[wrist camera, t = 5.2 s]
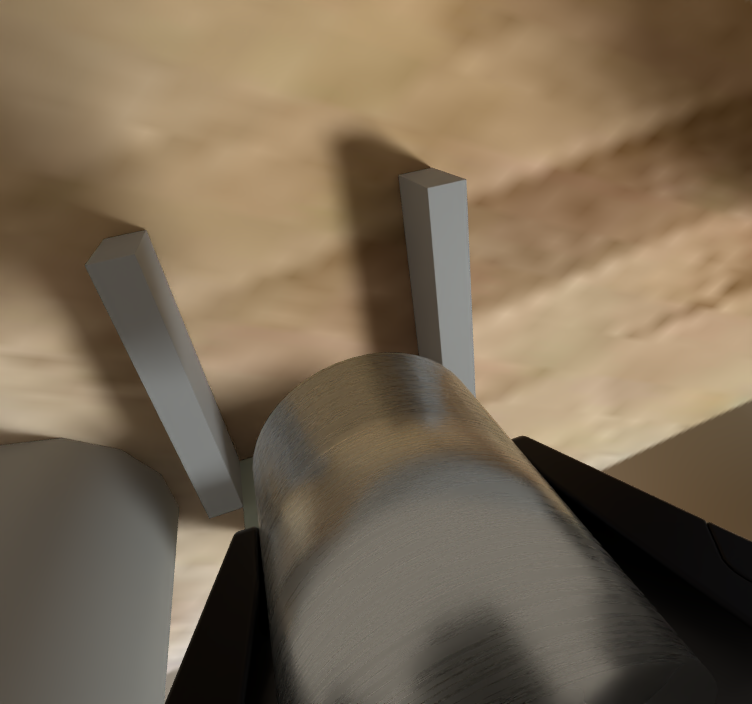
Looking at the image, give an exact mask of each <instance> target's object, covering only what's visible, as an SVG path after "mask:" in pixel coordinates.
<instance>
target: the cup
mask: <svg viewBox="0 0 752 704" xmlns="http://www.w3.org/2000/svg"><path fill="white" fill-rule="evenodd" d="M178 517H179V506H178V504H177V502H176V501H175V499H174V497H173V495H172V493H171V492H170V490H169V488H168V486H167V484H166V483H165V481H164V479H163V477H162V475H161V474H159V473H158V472H156V471H154V470H153V469H151V468H149V467H148V466H146V465H145V464H143V463H141V462H140V461H138V460H137V459H135V458H133V457H132V456H130V455H129V454H127V453H125V452H124V451H122V450H120V449H116V448H111V447H106V446H101V445H95V444H90V443H85V442H80V441H75V440H70V439H64V438H56V439H48V440H39V441H31V442H23V443H15V444H6V445H0V704H164V698H165V684H166V672H167V659H168V646H169V633H170V620H171V608H172V595H173V582H174V569H175V556H176V543H177V530H178Z"/></svg>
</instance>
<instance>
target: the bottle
mask: <svg viewBox="0 0 752 704" xmlns="http://www.w3.org/2000/svg"><path fill="white" fill-rule="evenodd" d="M253 477H254V487H255V496H256V506H257V515H258V525H259V535H260V544H261V554H262V564H263V573H264V583H265V592H266V602H267V612H268V621H269V631H270V641H271V650H272V660H273V669H274V679H275V689H276V698H277V704H715V702H716V697H717V685H716V681H715V680H714V678H713V676H712V675H711V673H710V672H709V671H708V670H707V669H706V667H705V666H704V665H703V664H702V663H701V662H700V660H699V659H698V658H697V657H696V656H695V655H694V653H693V652H692V651H691V650H690V649H689V647H688V646H687V645H686V644H685V643H684V642H683V640H682V639H681V638H680V637H679V636H678V635H677V633H676V632H675V631H674V630H673V629H672V628H671V626H670V625H669V624H668V623H667V622H666V621H665V619H664V618H663V617H662V616H661V615H660V613H659V612H658V611H657V610H656V609H655V608H654V606H653V605H652V604H651V603H650V602H649V601H648V599H647V598H646V597H645V596H644V595H643V594H642V592H641V591H640V590H639V589H638V588H637V587H636V585H635V584H634V583H633V582H632V581H631V579H630V578H629V577H628V576H627V575H626V574H625V572H624V571H623V570H622V569H621V568H620V567H619V565H618V564H617V563H616V562H615V561H614V560H613V558H612V557H611V556H610V555H609V554H608V553H607V551H606V550H605V549H604V548H603V547H602V546H601V544H600V543H599V542H598V541H597V540H596V538H595V537H594V536H593V535H592V534H591V533H590V531H589V530H588V529H587V528H586V527H585V526H584V524H583V523H582V522H581V521H580V520H579V519H578V517H577V516H576V515H575V514H574V513H573V512H572V510H571V509H570V508H569V507H568V506H567V504H566V503H565V502H564V501H563V500H562V499H561V497H560V496H559V495H558V494H557V493H556V492H555V490H554V489H553V488H552V487H551V486H550V485H549V483H548V482H547V481H546V480H545V479H544V478H543V476H542V475H541V474H540V473H539V472H538V470H537V469H536V468H535V467H534V466H533V465H532V463H531V462H530V461H529V460H528V459H527V458H526V456H525V455H524V454H523V453H522V452H521V451H520V449H519V448H518V447H517V446H516V445H515V444H514V442H513V441H512V440H511V439H510V438H509V436H508V435H507V434H506V433H505V432H504V431H503V429H502V428H501V427H500V426H499V425H498V424H497V422H496V421H495V420H494V419H493V418H492V417H491V415H490V414H489V413H488V412H487V411H486V410H485V408H484V407H483V406H482V405H481V404H480V403H479V401H478V400H477V399H476V398H475V397H474V395H473V394H472V393H471V392H470V391H469V390H468V388H467V387H466V386H465V385H464V384H463V383H462V381H461V380H460V379H459V378H458V377H457V376H456V375H455V374H454V373H452V372H451V371H450V370H448V369H447V368H445V367H444V366H442V365H441V364H439V363H437V362H435V361H432V360H430V359H428V358H424V357H421V356H417V355H413V354H406V353H386V352H385V353H375V354H367V355H363V356H358V357H354V358H350V359H347V360H344V361H342V362H339V363H336V364H334V365H331V366H329V367H327V368H325V369H323V370H321V371H319V372H317V373H316V374H314V375H313V376H311V377H309V378H308V379H306V380H305V381H303V382H302V383H301V384H300V385H298V386H297V387H296V388H294V389H293V390H292V391H291V392H290V393H289V394H288V395H287V396H286V397H285V398H284V399H283V400H282V401H281V402H280V403H279V404H278V405H277V407H276V408H275V409H274V411H273V412H272V413H271V414H270V416H269V418H268V419H267V421H266V423H265V424H264V426H263V428H262V430H261V432H260V435H259V437H258V440H257V442H256V447H255V451H254V455H253Z"/></svg>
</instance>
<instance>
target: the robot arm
mask: <svg viewBox="0 0 752 704" xmlns="http://www.w3.org/2000/svg"><path fill="white" fill-rule="evenodd" d="M511 440H512V441H513V442H514V444H515V445H516V446H517V447H518V448H519V449H520V451H521V452H522V453H523V454H524V455H525V456H526V458H527V459H528V460H529V461H530V462H531V463H532V465H533V466H534V467H535V468H536V469H537V470H538V472H539V473H540V474H541V475H542V476H543V478H544V479H545V480H546V481H547V482H548V483H549V485H550V486H551V487H552V488H553V489H554V490H555V492H556V493H557V494H558V495H559V496H560V497H561V499H562V500H563V501H564V502H565V503H566V504H567V506H568V507H569V508H570V509H571V510H572V512H573V513H574V514H575V515H576V516H577V517H578V519H579V520H580V521H581V522H582V523H583V524H584V526H585V527H586V528H587V529H588V530H589V531H590V533H591V534H592V535H593V536H594V537H595V538H596V540H597V541H598V542H599V543H600V544H601V546H602V547H603V548H604V549H605V550H606V551H607V553H608V554H609V555H610V556H611V557H612V558H613V560H614V561H615V562H616V563H617V564H618V565H619V567H620V568H621V569H622V570H623V571H624V572H625V574H626V575H627V576H628V577H629V578H630V579H631V581H632V582H633V583H634V584H635V585H636V587H637V588H638V589H639V590H640V591H641V592H642V594H643V595H644V596H645V597H646V598H647V599H648V601H649V602H650V603H651V604H652V605H653V606H654V608H655V609H656V610H657V611H658V612H659V613H660V615H661V616H662V617H663V618H664V619H665V621H666V622H667V623H668V624H669V625H670V626H671V628H672V629H673V630H674V631H675V632H676V633H677V635H678V636H679V637H680V638H681V639H682V640H683V642H684V643H685V644H686V645H687V646H688V647H689V649H690V650H691V651H692V652H693V653H694V655H695V656H696V657H697V658H698V659H699V660H700V662H701V663H702V664H703V665H704V666H705V667H706V669H707V670H708V671H709V672H710V673H711V675H712V676H713V678H714V680H715V681H716V685H717V697H716V702H715V704H752V541H750V540H748V539H745V538H743V537H741V536H739V535H737V534H734V533H732V532H730V531H728V530H726V529H723V528H721V527H719V526H717V525H715V524H713V523H710V522H708V523H706V521H705V520H704V519H702V518H700V517H698V516H695V515H693V514H691V513H689V512H687V511H685V510H683V509H680V508H678V507H676V506H674V505H672V504H670V503H668V502H666V501H663V500H661V499H659V498H657V497H655V496H653V495H650V494H648V493H646V492H644V491H642V490H640V489H638V488H636V487H633V486H631V485H629V484H627V483H625V482H623V481H621V480H618V479H616V478H614V477H612V476H610V475H608V474H606V473H604V472H601V471H599V470H597V469H595V468H593V467H591V466H589V465H586V464H584V463H582V462H580V461H578V460H576V459H574V458H571V457H569V456H567V455H565V454H563V453H561V452H559V451H557V450H554V449H552V448H550V447H548V446H546V445H544V444H542V443H539V442H537V441H535V440H533V439H531V438H529V437H526V436H519V437H516V438H513V439H511ZM165 704H277V698H276V689H275V679H274V669H273V660H272V650H271V641H270V631H269V621H268V612H267V602H266V592H265V583H264V573H263V564H262V554H261V544H260V535H259V529H258V527H255V526H253V527H250V528H247V529H244V530H241V531H238V532H236V533H235V534H234V536H233V538H232V541H231V543H230V546H229V548H228V551H227V553H226V555H225V558H224V560H223V563H222V565H221V568H220V570H219V573H218V575H217V577H216V580H215V582H214V585H213V587H212V590H211V592H210V594H209V597H208V599H207V602H206V604H205V607H204V609H203V612H202V614H201V616H200V619H199V621H198V624H197V626H196V629H195V631H194V634H193V636H192V638H191V641H190V643H189V646H188V648H187V651H186V653H185V656H184V658H183V660H182V663H181V665H180V668H179V670H178V673H177V675H176V678H175V680H174V682H173V685H172V687H171V690H170V692H169V695H168V697H167V699H166V702H165Z"/></svg>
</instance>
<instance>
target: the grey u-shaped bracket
mask: <svg viewBox="0 0 752 704" xmlns="http://www.w3.org/2000/svg"><path fill="white" fill-rule="evenodd" d="M398 176H399V185H400V194H401V203H402V211H403V220H404V229H405V238H406V246H407V255H408V264H409V272H410V281H411V290H412V299H413V307H414V316H415V325H416V334H417V342H418V351H419V356H421V357H424V358H428V359H430V360H432V361H435V362H437V363H439V364H441V365H442V366H444V367H445V368H447V369H448V370H450V371H451V372H452V373H454V374H455V375H456V376H457V377H458V378H459V379H460V380H461V381H462V383H463V384H464V385H465V386H466V387H467V388H468V390H469V391H470V392H471V393H472V394H473V395H474V397H475V398H476V395H475V372H474V349H473V326H472V303H471V279H470V256H469V233H468V210H467V187H466V179H463V178H461V177H458V176H455V175H452V174H449V173H446V172H443V171H440V170H437V169H435V168H428V169H424V170H419V171H415V172H410V173H405V174H401V175H398ZM85 267H86V269H87V271H88V273H89V275H90V277H91V279H92V282H93V284H94V286H95V288H96V290H97V292H98V294H99V296H100V298H101V300H102V302H103V304H104V306H105V308H106V310H107V312H108V314H109V316H110V318H111V320H112V322H113V324H114V326H115V328H116V330H117V332H118V334H119V336H120V338H121V340H122V342H123V344H124V346H125V348H126V350H127V352H128V355H129V357H130V359H131V361H132V363H133V365H134V367H135V369H136V371H137V373H138V375H139V377H140V379H141V381H142V383H143V385H144V387H145V389H146V391H147V393H148V395H149V397H150V399H151V401H152V403H153V405H154V407H155V409H156V411H157V413H158V415H159V417H160V419H161V421H162V423H163V425H164V427H165V430H166V432H167V434H168V436H169V438H170V440H171V442H172V444H173V446H174V448H175V450H176V452H177V454H178V456H179V458H180V460H181V462H182V464H183V466H184V468H185V470H186V472H187V474H188V476H189V478H190V480H191V482H192V484H193V486H194V488H195V490H196V492H197V494H198V496H199V498H200V500H201V503H202V505H203V507H204V509H205V511H206V513H207V515H208V517H209V518H212V517H215V516H218V515H221V514H224V513H227V512H230V511H234V510H237V509H240V508H243V510H244V523H245V529H247V528H250V527H253V526H255V527H258V529H259V525H258V515H257V506H256V496H255V487H254V477H253V457H252V458H249V459H245V460H242V461H239V458H238V456H237V453H236V451H235V448H234V446H233V443H232V441H231V438H230V436H229V433H228V431H227V428H226V426H225V424H224V421H223V419H222V416H221V414H220V411H219V409H218V406H217V404H216V401H215V399H214V396H213V394H212V391H211V389H210V386H209V384H208V381H207V379H206V377H205V374H204V372H203V369H202V367H201V364H200V362H199V359H198V357H197V354H196V352H195V349H194V347H193V344H192V342H191V339H190V337H189V335H188V332H187V330H186V327H185V325H184V322H183V320H182V317H181V315H180V312H179V310H178V307H177V305H176V302H175V300H174V297H173V295H172V292H171V290H170V288H169V285H168V283H167V280H166V278H165V275H164V273H163V270H162V268H161V265H160V263H159V260H158V258H157V255H156V253H155V250H154V248H153V245H152V243H151V241H150V238H149V236H148V233H147V231H146V230H143V231H138V232H134V233H129V234H125V235H120V236H115V237H111V238H106V239H103V241H102V242H101V244H100V245H99V246H98V248H97V249H96V250H95V252H94V253H93V255H92V256H91V257H90V259H89V260H88V261H87V263H86V264H85Z"/></svg>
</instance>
